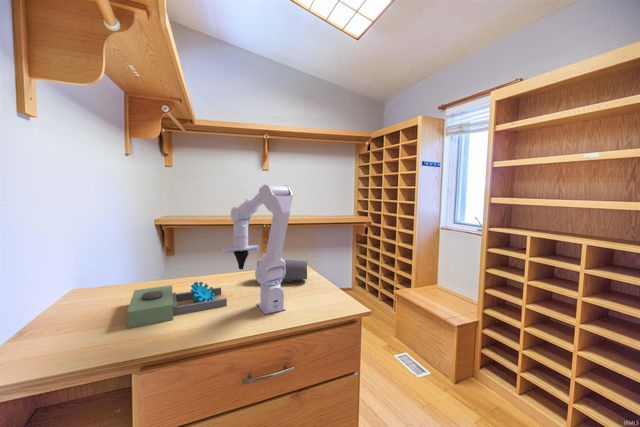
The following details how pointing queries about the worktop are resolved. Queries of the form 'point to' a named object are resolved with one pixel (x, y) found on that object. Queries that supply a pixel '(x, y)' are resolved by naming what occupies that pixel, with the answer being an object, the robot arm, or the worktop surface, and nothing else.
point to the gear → (202, 292)
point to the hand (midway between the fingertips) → (241, 268)
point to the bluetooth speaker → (294, 270)
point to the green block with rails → (164, 305)
